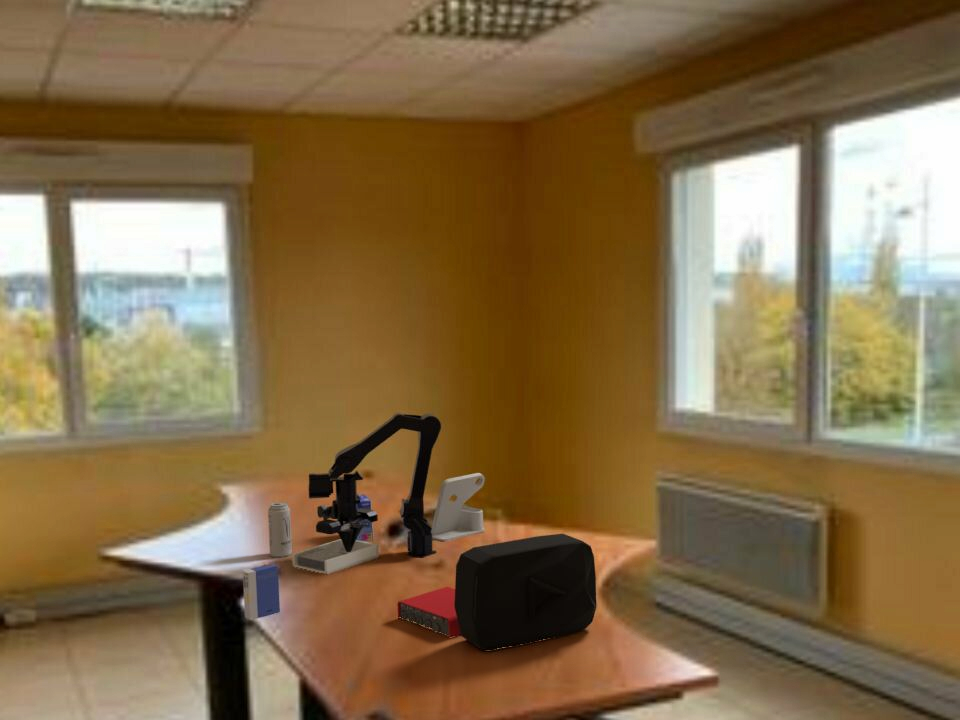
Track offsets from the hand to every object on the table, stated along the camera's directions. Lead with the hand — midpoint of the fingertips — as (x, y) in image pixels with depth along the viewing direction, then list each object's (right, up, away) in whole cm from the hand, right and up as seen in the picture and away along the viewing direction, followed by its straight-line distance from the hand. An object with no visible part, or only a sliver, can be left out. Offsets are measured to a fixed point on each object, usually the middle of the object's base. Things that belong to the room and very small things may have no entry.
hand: (348, 551), depth 272 cm
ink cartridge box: (+1, 0, +23) cm, 23 cm away
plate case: (-3, -2, -4) cm, 5 cm away
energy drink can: (-20, -2, +5) cm, 20 cm away
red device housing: (+29, -6, -52) cm, 60 cm away
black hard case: (+47, -6, -64) cm, 80 cm away
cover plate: (-6, -2, -7) cm, 10 cm away
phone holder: (+29, 0, +25) cm, 38 cm away
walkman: (-14, -6, -46) cm, 49 cm away
